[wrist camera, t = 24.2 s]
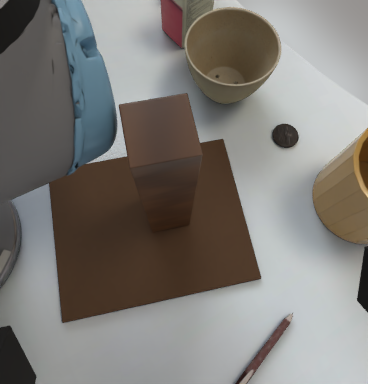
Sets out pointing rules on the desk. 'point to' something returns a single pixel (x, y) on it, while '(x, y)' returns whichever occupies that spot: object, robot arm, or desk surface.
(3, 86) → the robot arm
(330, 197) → the wooden pot
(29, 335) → the desk surface
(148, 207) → the block
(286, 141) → the coin
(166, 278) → the mat
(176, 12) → the small box
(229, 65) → the bowl
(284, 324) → the pen
